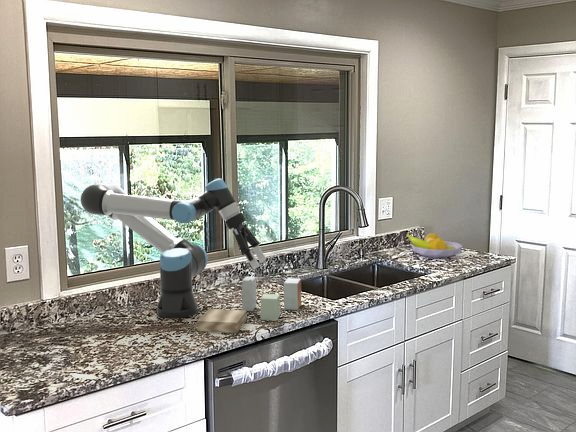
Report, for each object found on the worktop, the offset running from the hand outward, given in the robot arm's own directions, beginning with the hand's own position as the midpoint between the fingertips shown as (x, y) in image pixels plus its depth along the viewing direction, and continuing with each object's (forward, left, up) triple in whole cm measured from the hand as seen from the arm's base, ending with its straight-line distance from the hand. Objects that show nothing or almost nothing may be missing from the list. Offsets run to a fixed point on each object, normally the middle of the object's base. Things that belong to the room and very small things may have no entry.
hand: (260, 264), depth 234 cm
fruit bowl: (+72, +104, -17) cm, 128 cm away
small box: (+12, +1, -17) cm, 21 cm away
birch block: (-9, -24, -17) cm, 31 cm away
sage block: (+6, -13, -17) cm, 22 cm away
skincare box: (-4, -4, -17) cm, 18 cm away
